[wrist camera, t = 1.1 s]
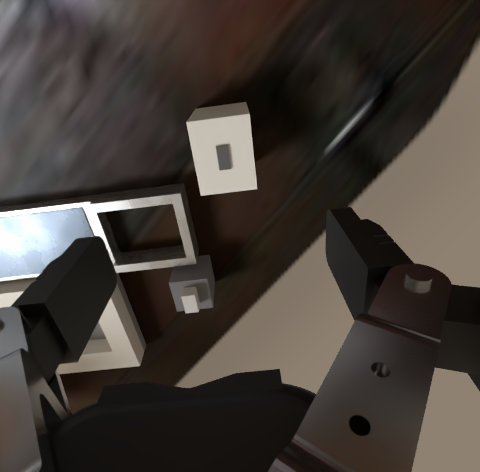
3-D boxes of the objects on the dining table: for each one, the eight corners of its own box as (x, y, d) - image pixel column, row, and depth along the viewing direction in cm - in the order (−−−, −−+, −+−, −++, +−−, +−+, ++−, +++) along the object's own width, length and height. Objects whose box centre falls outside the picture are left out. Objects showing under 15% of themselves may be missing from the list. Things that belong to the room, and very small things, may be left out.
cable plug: (175, 258, 32) (166, 291, 27) (209, 254, 32) (205, 287, 27) (182, 285, 34) (175, 320, 29) (215, 281, 33) (212, 316, 29)
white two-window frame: (-51, 212, 29) (-73, 224, 27) (184, 183, 28) (180, 193, 26) (-11, 274, 32) (-27, 289, 30) (199, 250, 31) (196, 263, 29)
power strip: (-82, 286, 33) (-115, 310, 30) (114, 263, 32) (101, 286, 29) (-21, 362, 39) (-43, 388, 36) (146, 344, 38) (138, 370, 35)
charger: (195, 108, 25) (185, 122, 19) (245, 101, 25) (249, 114, 19) (206, 169, 27) (200, 196, 22) (252, 163, 27) (257, 189, 22)
